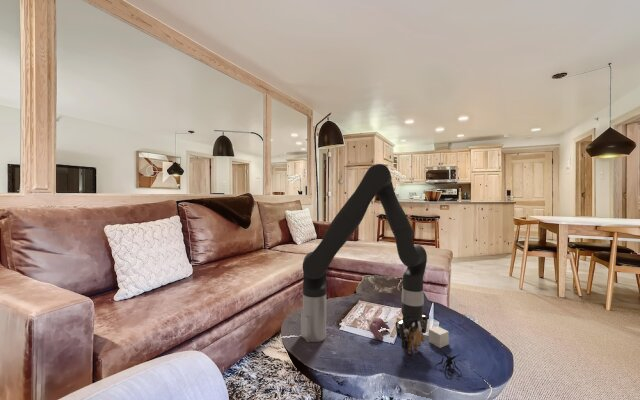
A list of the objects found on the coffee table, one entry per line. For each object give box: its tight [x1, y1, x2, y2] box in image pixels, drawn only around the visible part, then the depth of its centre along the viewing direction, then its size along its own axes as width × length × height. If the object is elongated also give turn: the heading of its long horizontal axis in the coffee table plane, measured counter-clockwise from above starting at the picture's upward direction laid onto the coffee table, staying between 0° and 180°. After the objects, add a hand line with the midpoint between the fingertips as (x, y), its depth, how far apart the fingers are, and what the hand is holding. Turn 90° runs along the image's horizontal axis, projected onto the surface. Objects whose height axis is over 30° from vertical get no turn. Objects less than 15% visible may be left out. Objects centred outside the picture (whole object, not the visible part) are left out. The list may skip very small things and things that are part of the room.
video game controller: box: [369, 317, 391, 342], centre depth 116 cm, size 10×5×7 cm, turn 149°
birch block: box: [396, 314, 403, 322], centre depth 120 cm, size 5×5×5 cm
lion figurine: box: [405, 329, 427, 355], centre depth 106 cm, size 15×5×9 cm, turn 10°
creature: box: [434, 348, 463, 378], centre depth 93 cm, size 8×5×8 cm
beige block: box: [428, 325, 450, 349], centre depth 110 cm, size 5×5×5 cm
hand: (411, 347), depth 104 cm, fingers closed on lion figurine, 5 cm apart
